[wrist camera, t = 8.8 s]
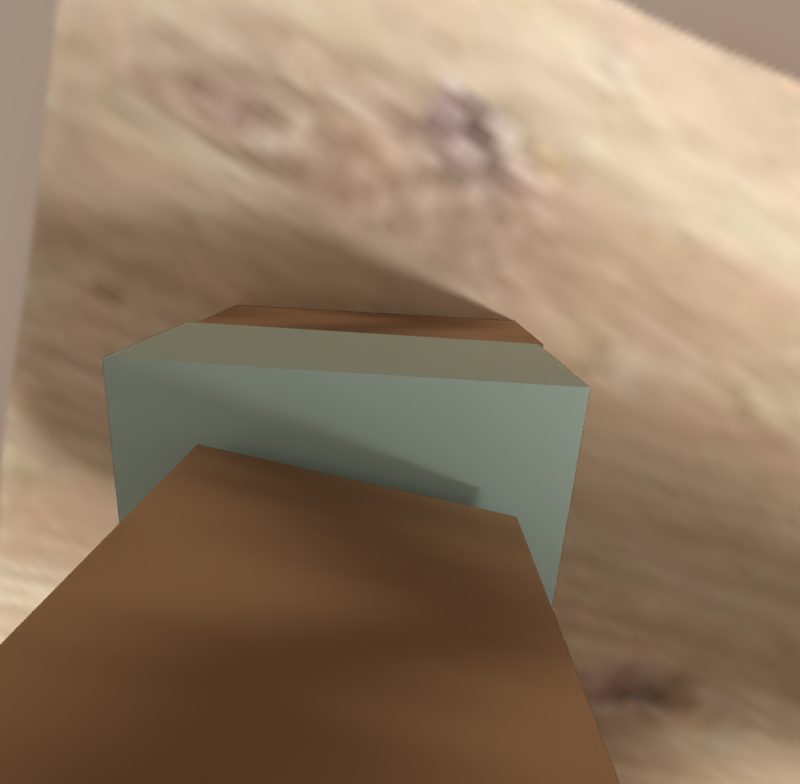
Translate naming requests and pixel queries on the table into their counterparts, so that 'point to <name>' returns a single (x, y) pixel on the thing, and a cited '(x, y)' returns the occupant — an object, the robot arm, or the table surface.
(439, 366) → the tower top slab
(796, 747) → the table surface
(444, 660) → the walnut block
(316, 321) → the tower base slab
